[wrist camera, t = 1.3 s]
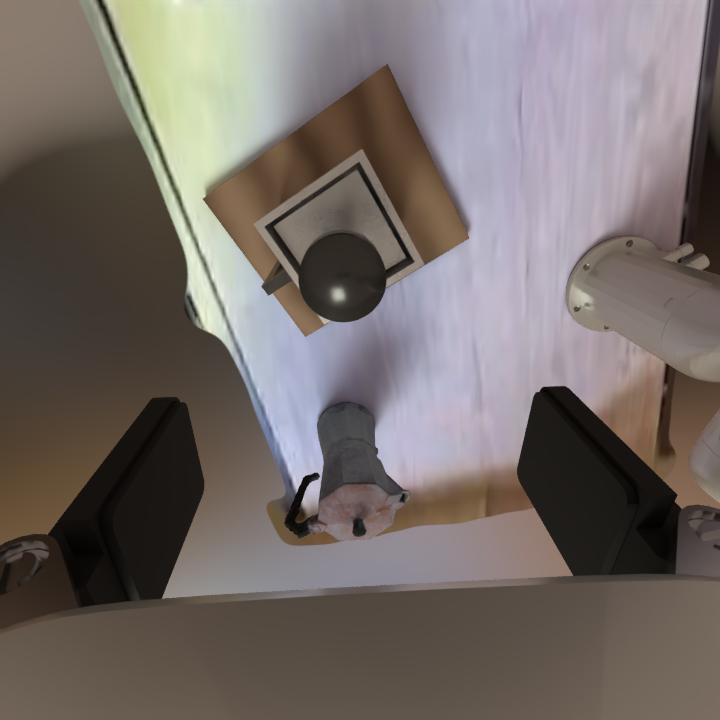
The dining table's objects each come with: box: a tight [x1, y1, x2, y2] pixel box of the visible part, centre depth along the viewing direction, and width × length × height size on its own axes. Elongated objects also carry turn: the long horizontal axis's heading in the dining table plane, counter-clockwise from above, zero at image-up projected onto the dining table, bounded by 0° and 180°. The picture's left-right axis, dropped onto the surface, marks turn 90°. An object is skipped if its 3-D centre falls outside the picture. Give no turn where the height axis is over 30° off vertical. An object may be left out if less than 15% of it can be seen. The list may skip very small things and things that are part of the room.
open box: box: [253, 149, 425, 325], centre depth 40 cm, size 13×10×16 cm
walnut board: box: [203, 64, 469, 337], centre depth 47 cm, size 24×20×1 cm
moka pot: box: [284, 403, 410, 541], centre depth 52 cm, size 10×15×20 cm, turn 112°
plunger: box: [274, 169, 406, 322], centre depth 28 cm, size 8×8×13 cm
